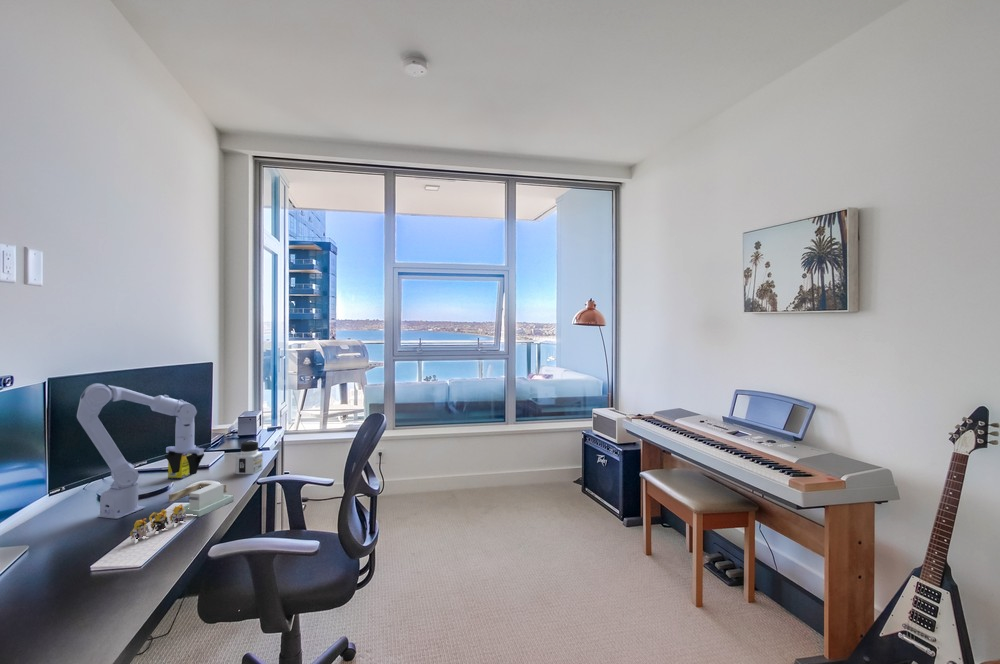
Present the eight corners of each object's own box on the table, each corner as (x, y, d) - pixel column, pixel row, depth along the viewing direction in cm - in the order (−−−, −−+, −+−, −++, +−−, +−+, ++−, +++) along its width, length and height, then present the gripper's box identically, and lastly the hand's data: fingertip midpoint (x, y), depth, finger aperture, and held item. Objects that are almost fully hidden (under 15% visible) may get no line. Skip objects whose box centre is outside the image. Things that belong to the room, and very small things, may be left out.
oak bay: (196, 504, 158) (196, 497, 158) (168, 501, 161) (168, 494, 161) (226, 491, 171) (226, 485, 171) (200, 489, 174) (200, 482, 174)
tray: (198, 517, 148) (198, 511, 148) (176, 514, 149) (176, 508, 149) (233, 501, 162) (233, 495, 162) (213, 499, 164) (213, 493, 164)
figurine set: (126, 543, 129) (126, 520, 129) (181, 521, 145) (181, 500, 145) (134, 545, 128) (134, 522, 128) (189, 522, 144) (189, 502, 144)
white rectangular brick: (197, 512, 150) (197, 494, 150) (187, 511, 151) (187, 493, 151) (223, 501, 160) (223, 484, 160) (213, 500, 161) (214, 483, 161)
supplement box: (182, 479, 185) (182, 453, 185) (167, 479, 185) (167, 452, 185) (192, 475, 190) (192, 449, 190) (178, 474, 191) (178, 449, 191)
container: (253, 474, 192) (253, 443, 192) (235, 474, 192) (235, 443, 192) (262, 469, 200) (263, 439, 200) (245, 468, 200) (245, 439, 200)
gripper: (211, 434, 166) (210, 471, 166) (178, 432, 169) (178, 468, 169) (194, 438, 159) (193, 477, 159) (160, 436, 162) (160, 474, 162)
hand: (184, 473), depth 164 cm, fingers open, 7 cm apart
